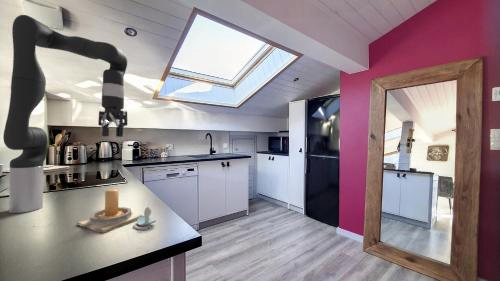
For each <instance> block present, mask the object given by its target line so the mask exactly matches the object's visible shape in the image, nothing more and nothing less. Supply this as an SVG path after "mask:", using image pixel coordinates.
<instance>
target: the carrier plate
mask: <svg viewBox="0 0 500 281" xmlns="http://www.w3.org/2000/svg"><path fill="white" fill-rule="evenodd" d="M118 211H123V213H124V214H123V215H120V216H117V217H111V218H98V216H99V215H102V214H103V213H105V208H103V209H101V210H96V211H95V212H93V213H91V214H90V216H89V218H85V219H82V220H79V221H77V222H76V226H78V225H80V226H79V227H82V226H83V227H82V228H85V227H86V229H88V230H92V231H95V232H98V233H102V234H105V233H108V232H110V231H113V230H115V229H118V228H120V227H123V226H125V225H129V224H131V223H133V222H137V219H138V218H139V217H141V216H144V214H138V213H136V212H135V213H134V212H132V210H131V208H129V207H124V206H122V207H121V206H120V207H119V206H118Z"/></svg>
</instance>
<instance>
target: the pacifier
mask: <svg viewBox="0 0 500 281" xmlns="http://www.w3.org/2000/svg"><path fill="white" fill-rule="evenodd" d="M143 212H144V214H143V216H141V217H139V218H138V219H137V220H136V223H133V228H134V229H136V230H141V231H142V230H147V229H149V228H150V227H151V225H152V224H154V223H156V222H157V220H152V219H151V218H150V216H151V214H152V209H151V207H149V206H147V207H145V209H144V211H143Z"/></svg>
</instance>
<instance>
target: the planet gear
mask: <svg viewBox="0 0 500 281" xmlns="http://www.w3.org/2000/svg"><path fill="white" fill-rule="evenodd" d="M119 192H120V191H119V189H118V188H110V189H106V190H105V191H104V209H105V213H103V214H102V215H99V216H98V218H111V217H117V216H120V215H123V214H124V213H123V211H118V207H119V202H120V201H119V197H120V195H119Z"/></svg>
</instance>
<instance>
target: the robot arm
mask: <svg viewBox="0 0 500 281" xmlns="http://www.w3.org/2000/svg"><path fill="white" fill-rule="evenodd" d="M11 28H12V30H11V31H12V34H11V35H12V47H13V53H12V54H13V55H12V56H13V60H12V62H13V63H12V72H11V81H10V98H9V106H8V111H7V112H8V113H7V117H6V121H5V126H4V131H3V136H2V138H3V139H2V140H3V143H4V145H5V146H6V148H8V149H9V150H13V151H22V153H21V154H20V155H19V156H17V157H15V158H12V159H11V160H10V161H9V187H8V188H9V192H8V194H9V195H8V213H9V214H10V213H11V214H22V213H28V212H33V211H36V210H40V209H42V208H43V206H44V205H43V204H44V203H43V202H44V163H45V160H46V158H47V152H48V142H49V141H48V139H49V138H48V135H47V132H46V131H45V129H43V128H41V127H38V126H29V125H30V119H31V114H32V113H33V111H34V110H35V109H36V108H37V106H38V105H39V104H40V103H41V102H42V101H43V99H44V97H45V94H46V84H47V81H46V76H45V74H44V71H43V69H42V67H41V65H40V62H39V61H38V58H37V54H36V47H39V48H42V49H43V48H44V49H52V50H58V51H65V52H68V53H72V54H75V55H79V56H82V57H85V58H88V59H92V60H101V61H104V62H106V63H109V68H107V69H105V70H104V71H103V72H102V87H101V107H102V108H103V109H104V111H102V110H99V111H98V121H97V122H98V126H100V127H101V130H102V131H101V136H103V137H109V135H110V125H111V124H113V123H114V124H115V126H116V128H115V129H116V131H115V137H117V138H119V137H120V138H122V137H123V136H124V127H126V126H128V111H127V110H124V107H125V105H124V104H125V89H124V84H125V83H124V79H125V78H124V77H125V74H126V71H127V68H128V57H127V55H126V53H125V52H124V51H122V50H121V49H120V48H118V47H117V46H115V45H114V44H111V43H109V42H106V41H105V42H104V41H96V40H92V39H88V38H86V37H82V36H76V35H70V36H69V35H65V34H62V33H60V32H57V31H55V30H53V29H52V28H50V27H49V26H47V25H46V24H44V23H42V22H40V21H39V20H37V19H35V18H34V17H31V16H30V15H27V14H21V15H18V16H17V17H15V18H14V20H13V22H12V26H11Z"/></svg>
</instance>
